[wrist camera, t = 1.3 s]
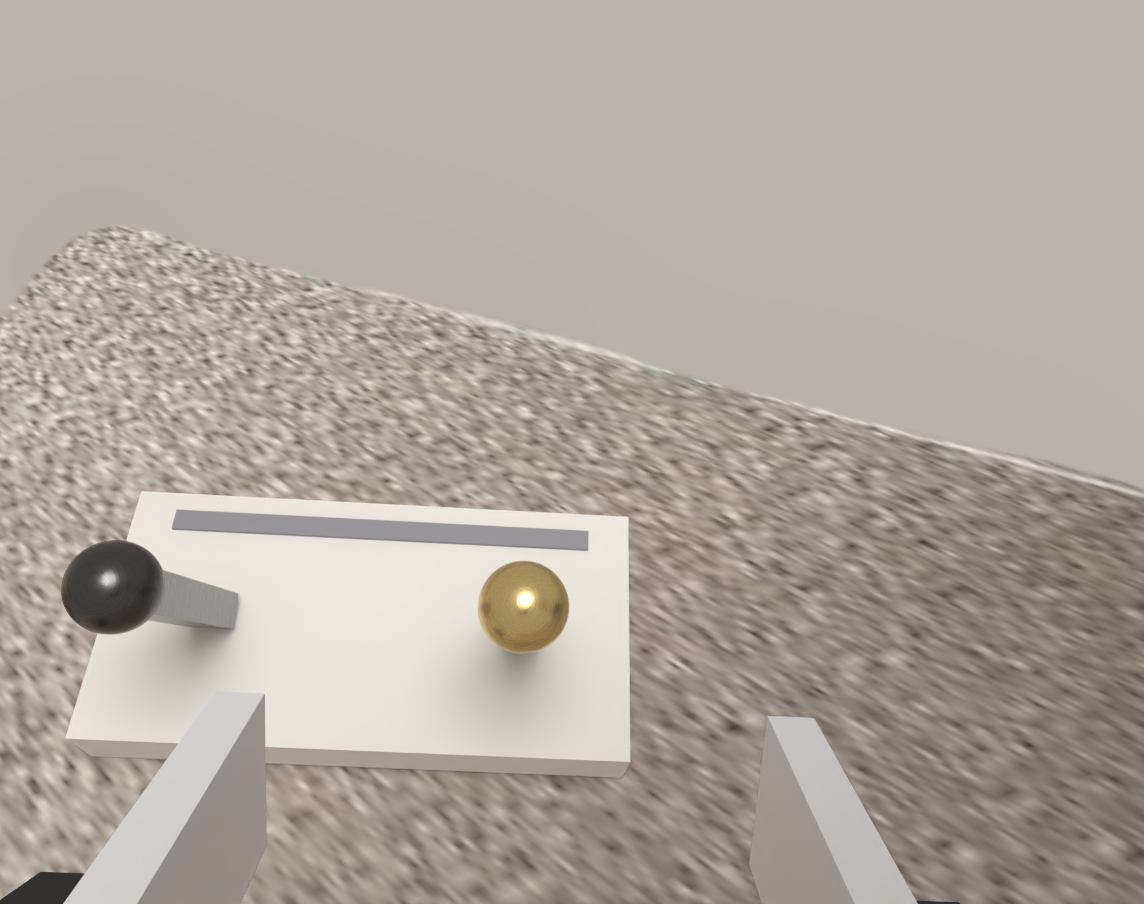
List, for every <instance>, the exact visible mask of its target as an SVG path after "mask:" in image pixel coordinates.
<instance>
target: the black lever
mask: <svg viewBox="0 0 1144 904" xmlns="http://www.w3.org/2000/svg"><path fill="white" fill-rule="evenodd" d="M61 595H62V601H63V604H64V607H65V609H66V611H67V612H68V614H69V615H70V617H71V618H72V619H73V620H74V621H75V622H76V623H77V624H79V625H80V626H81V627H83V628H85V629H87V630H89V631H91V632H95V633H99V634H105V635H114V634H122V633H126V632H129V631H131V630H134V629H136V628H138V627H140V626H142V625H143V624H144V623H146V622H147V621H148V620H149V621H155V622H161V623H167V624H173V625H180V626H186V627H199V628H221V629H234V624H235V616H236V609H237V601H238V593H235V592H232V591H229V590H226V589H222V588H219V587H216V586H213V585H210V584H206V583H203V582H200V581H197V580H194V579H190V578H187V577H184V576H181V575H177V574H174V573H171V572H168V571H165V570H163V569H162V567H161V565H160V563H159V561H158V560H157V559H156V557H155V556H154V555H153V554H152V553H151V552H150V551H148V550H147V549H145V548H144V547H142V546H140V545H138V544H135V543H132V542H128V541H122V540H112V541H104V542H101V543H97V544H95V545H92V546H90V547H89V548H87V549H85V550H84V551H82V552H81V553H80V554H78V555H77V556H76V557H75V558H74V559H73V561H72V562H71V563H70V565H69V566H68V568H67V570H66V572H65V574H64V577H63V580H62V586H61Z"/></svg>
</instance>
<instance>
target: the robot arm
mask: <svg viewBox="0 0 1144 904" xmlns="http://www.w3.org/2000/svg"><path fill="white" fill-rule="evenodd" d="M265 848H266V757H265V693H244V692H221V691H216V692H215V693H214V694H213V696H212V697H211V699H210V700H209V701H208V703H207V704H206V706H205V707H204V708H203V710H202V711H201V713H200V714H199V715H198V717H197V718H196V720H195V721H194V722H193V724H192V725H191V726H190V728H189V729H188V731H187V732H186V733H185V735H184V736H183V738H182V739H181V740H180V742H179V743H178V745H177V746H176V747H175V749H174V750H173V752H172V753H171V754H170V756H169V757H168V759H167V760H166V761H165V763H164V764H163V765H162V767H161V768H160V770H159V771H158V772H157V774H156V775H155V777H154V778H153V779H152V781H151V782H150V784H149V785H148V786H147V788H146V789H145V791H144V792H143V793H142V795H141V796H140V797H139V799H138V800H137V802H136V803H135V804H134V806H133V807H132V809H131V810H130V811H129V813H128V814H127V816H126V817H125V818H124V820H123V821H122V823H121V824H120V825H119V827H118V828H117V830H116V831H115V832H114V834H113V835H112V836H111V838H110V839H109V841H108V842H107V843H106V845H105V846H104V848H103V849H102V850H101V852H100V853H99V855H98V856H97V857H96V859H95V860H94V862H93V863H92V864H91V866H90V867H89V868H88V870H87V871H86V873H85V874H83V873H55V872H40V873H38V874H37V875H36V876H34V877H33V878H31V879H30V880H28V881H27V882H26V883H24V884H23V885H21V886H20V887H18V888H17V889H15V890H14V891H13V892H11V893H10V894H8V895H7V896H5V897H4V898H3V899H1V900H0V904H240V903H241V901H242V899H243V897H244V894H245V892H246V890H247V888H248V886H249V883H250V881H251V879H252V877H253V875H254V872H255V870H256V868H257V866H258V864H259V861H260V859H261V857H262V855H263V852H264V850H265ZM749 866H750V869H751V872H752V875H753V878H754V881H755V884H756V887H757V890H758V893H759V896H760V899H761V902H762V904H960V903H959V902H934V901H916V900H915V898H914V896H913V894H912V893H911V891H910V889H909V887H908V885H907V884H906V882H905V880H904V878H903V876H902V875H901V873H900V871H899V869H898V867H897V866H896V864H895V862H894V860H893V859H892V857H891V855H890V853H889V851H888V850H887V848H886V846H885V844H884V842H883V841H882V839H881V837H880V835H879V833H878V832H877V830H876V828H875V826H874V825H873V823H872V821H871V819H870V817H869V816H868V814H867V812H866V810H865V808H864V807H863V805H862V803H861V801H860V799H859V798H858V796H857V794H856V792H855V791H854V789H853V787H852V785H851V783H850V782H849V780H848V778H847V776H846V774H845V773H844V771H843V769H842V767H841V765H840V764H839V762H838V760H837V758H836V757H835V755H834V753H833V751H832V749H831V748H830V746H829V744H828V742H827V740H826V739H825V737H824V735H823V733H822V731H821V730H820V728H819V726H818V724H817V723H816V721H815V719H814V718H802V717H780V716H767V723H766V731H765V739H764V747H763V756H762V764H761V772H760V780H759V788H758V796H757V804H756V812H755V820H754V828H753V837H752V845H751V853H750V861H749Z"/></svg>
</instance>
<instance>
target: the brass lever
mask: <svg viewBox="0 0 1144 904" xmlns="http://www.w3.org/2000/svg"><path fill="white" fill-rule="evenodd" d="M568 616H569V599H568V594H567V591H566V589H565V586H564V584H563V583H562V581H561V580H560V578H559V577H558V576H557V575H556V574H555V573H554V572H553V571H552V570H550V569H549V568H548V567H546V566H544V565H542V564H539V563H536V562H532V561H516V562H511V563H508V564H506V565H503V566H502V567H500V568H498V569H497V570H496V571H494V572H493V573H492V574H491V575H490V576H489V577H488V579H487V580H486V581H485V583H484V585H483V586H482V589H481V591H480V594H479V598H478V618H479V621H480V624H481V627H482V629H483V631H484V632H485V634H486V635H487V637H488V638H489V639H490V640H491V641H492V642H493V643H494V644H496V645H497V646H498V647H500V648H502V649H504V650H506V651H509V652H513V653H519V654H528V653H534V652H537V651H540V650H542V649H544V648H546V647H548V646H549V645H551V644H552V643H553V642H554V641H555V640H556V639H557V638H558V637H559V636H560V634H561V633H562V631H563V629H564V628H565V625H566V623H567V620H568Z"/></svg>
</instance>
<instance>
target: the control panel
mask: <svg viewBox="0 0 1144 904" xmlns="http://www.w3.org/2000/svg"><path fill="white" fill-rule="evenodd" d="M126 541H128V542H132V543H135V544H138V545H140V546H142V547H144V548H145V549H147V550H148V551H150V552H151V553H152V554H153V555H154V556H155V557H156V559H157V560H158V561H159V563H160V565H161V567H162V569H163V570H165V571H168V572H171V573H174V574H177V575H181V576H184V577H187V578H190V579H194V580H197V581H200V582H203V583H206V584H210V585H213V586H216V587H219V588H222V589H226V590H229V591H232V592H235V593H238V601H237V609H236V616H235V624H234V629H221V628H199V627H186V626H180V625H173V624H167V623H161V622H155V621H149V620H148V621H147V622H146V623H144V624H143V625H142V626H140V627H138V628H136V629H134V630H131V631H129V632H126V633H122V634H114V635H105V634H99V633H98V634H97V637H96V641H95V644H94V647H93V650H92V653H91V657H90V660H89V663H88V666H87V670H86V673H85V676H84V679H83V683H82V686H81V689H80V692H79V696H78V699H77V702H76V705H75V709H74V712H73V715H72V718H71V721H70V725H69V728H68V731H67V734H66V738H65V739H67V740H68V741H70V742H71V743H73V744H74V745H76V746H77V747H78V748H80V749H81V750H83V751H84V752H86V753H87V754H89V755H90V756H97V757H121V758H146V759H168V757H169V756H170V754H171V753H172V752H173V750H174V749H175V747H176V746H177V745H178V743H179V742H180V740H181V739H182V738H183V736H184V735H185V733H186V732H187V731H188V729H189V728H190V726H191V725H192V724H193V722H194V721H195V720H196V718H197V717H198V715H199V714H200V713H201V711H202V710H203V708H204V707H205V706H206V704H207V703H208V701H209V700H210V699H211V697H212V696H213V694H214V693H215V692H216V691H221V692H244V693H265V757H266V763H269V764H294V765H319V766H343V767H368V768H393V769H417V770H442V771H467V772H491V773H516V774H541V775H565V776H590V777H615V778H623V776H624V774H625V772H626V770H627V768H628V766H629V764H630V670H629V555H628V517H619V516H600V515H581V514H562V513H543V512H524V511H505V510H487V509H468V508H449V507H430V506H411V505H392V504H373V503H354V502H335V501H316V500H297V499H278V498H259V497H240V496H221V495H202V494H183V493H165V492H146V491H142V492H141V495H140V498H139V501H138V505H137V508H136V511H135V514H134V517H133V521H132V524H131V527H130V530H129V534H128V537H127V540H126ZM516 561H532V562H536V563H539V564H542V565H544V566H546V567H548V568H549V569H550V570H552V571H553V572H554V573H555V574H556V575H557V576H558V577H559V578H560V580H561V581H562V583H563V584H564V586H565V589H566V591H567V594H568V599H569V616H568V620H567V623H566V625H565V628H564V629H563V631H562V633H561V634H560V636H559V637H558V638H557V639H556V640H555V641H554V642H553V643H552V644H551V645H549V646H548V647H546V648H544V649H542V650H540V651H537V652H534V653H528V654H519V653H513V652H509V651H506V650H504V649H502V648H500V647H498V646H497V645H496V644H494V643H493V642H492V641H491V640H490V639H489V638H488V637H487V635H486V634H485V632H484V631H483V629H482V627H481V624H480V621H479V618H478V598H479V594H480V591H481V589H482V586H483V585H484V583H485V581H486V580H487V579H488V577H489V576H490V575H491V574H492V573H493V572H494V571H496V570H497V569H498V568H500V567H502V566H503V565H506V564H508V563H511V562H516Z"/></svg>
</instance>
